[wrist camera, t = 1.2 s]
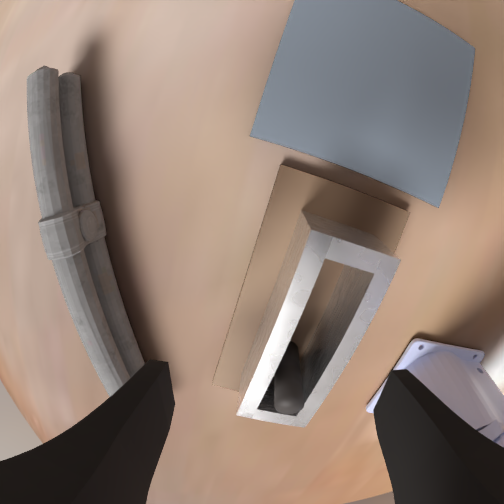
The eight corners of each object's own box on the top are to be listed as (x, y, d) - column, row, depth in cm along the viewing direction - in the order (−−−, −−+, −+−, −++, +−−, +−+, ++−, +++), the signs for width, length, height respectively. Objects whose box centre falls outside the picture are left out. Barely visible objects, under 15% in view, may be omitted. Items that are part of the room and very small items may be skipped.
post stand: (406, 210, 16) (455, 238, 11) (311, 400, 21) (317, 456, 16) (280, 164, 16) (286, 171, 10) (213, 379, 21) (199, 436, 16)
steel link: (373, 234, 16) (401, 259, 12) (300, 385, 20) (304, 427, 16) (300, 210, 16) (311, 229, 12) (241, 373, 20) (236, 415, 16)
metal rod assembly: (169, 398, 23) (154, 442, 18) (141, 395, 23) (123, 437, 18) (93, 69, 14) (46, 54, 9) (61, 83, 14) (12, 75, 10)
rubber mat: (472, 49, 12) (475, 48, 11) (435, 206, 16) (438, 207, 15) (306, -30, 11) (307, -34, 11) (250, 136, 15) (249, 136, 15)
